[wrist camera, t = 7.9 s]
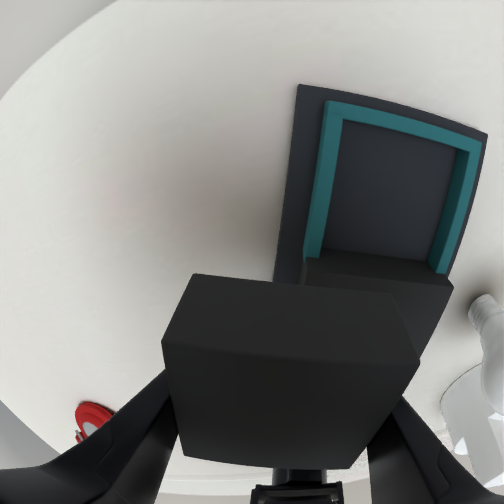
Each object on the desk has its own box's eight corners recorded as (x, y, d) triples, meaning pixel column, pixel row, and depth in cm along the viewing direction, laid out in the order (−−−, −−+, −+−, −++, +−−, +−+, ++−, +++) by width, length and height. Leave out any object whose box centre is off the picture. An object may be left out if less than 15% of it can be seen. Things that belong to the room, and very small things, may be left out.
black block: (343, 408, 12) (349, 469, 9) (199, 395, 12) (183, 456, 9) (392, 292, 9) (422, 362, 6) (192, 271, 9) (159, 340, 6)
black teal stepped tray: (401, 361, 23) (412, 397, 20) (261, 351, 24) (257, 391, 20) (480, 132, 15) (517, 142, 11) (297, 85, 15) (301, 79, 12)
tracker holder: (68, 395, 30) (136, 445, 28) (90, 379, 34) (154, 424, 32) (66, 445, 32) (122, 486, 31) (83, 430, 37) (137, 468, 35)
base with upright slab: (518, 369, 23) (557, 447, 13) (465, 417, 27) (490, 496, 17) (486, 350, 22) (534, 448, 12) (424, 407, 26) (449, 504, 16)
